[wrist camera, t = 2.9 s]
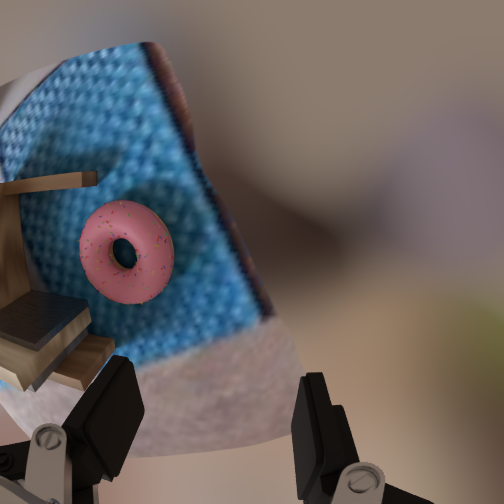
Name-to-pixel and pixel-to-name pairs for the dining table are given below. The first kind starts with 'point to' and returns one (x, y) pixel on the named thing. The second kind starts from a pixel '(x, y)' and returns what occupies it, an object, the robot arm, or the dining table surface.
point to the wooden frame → (17, 284)
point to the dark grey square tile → (38, 318)
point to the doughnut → (147, 250)
